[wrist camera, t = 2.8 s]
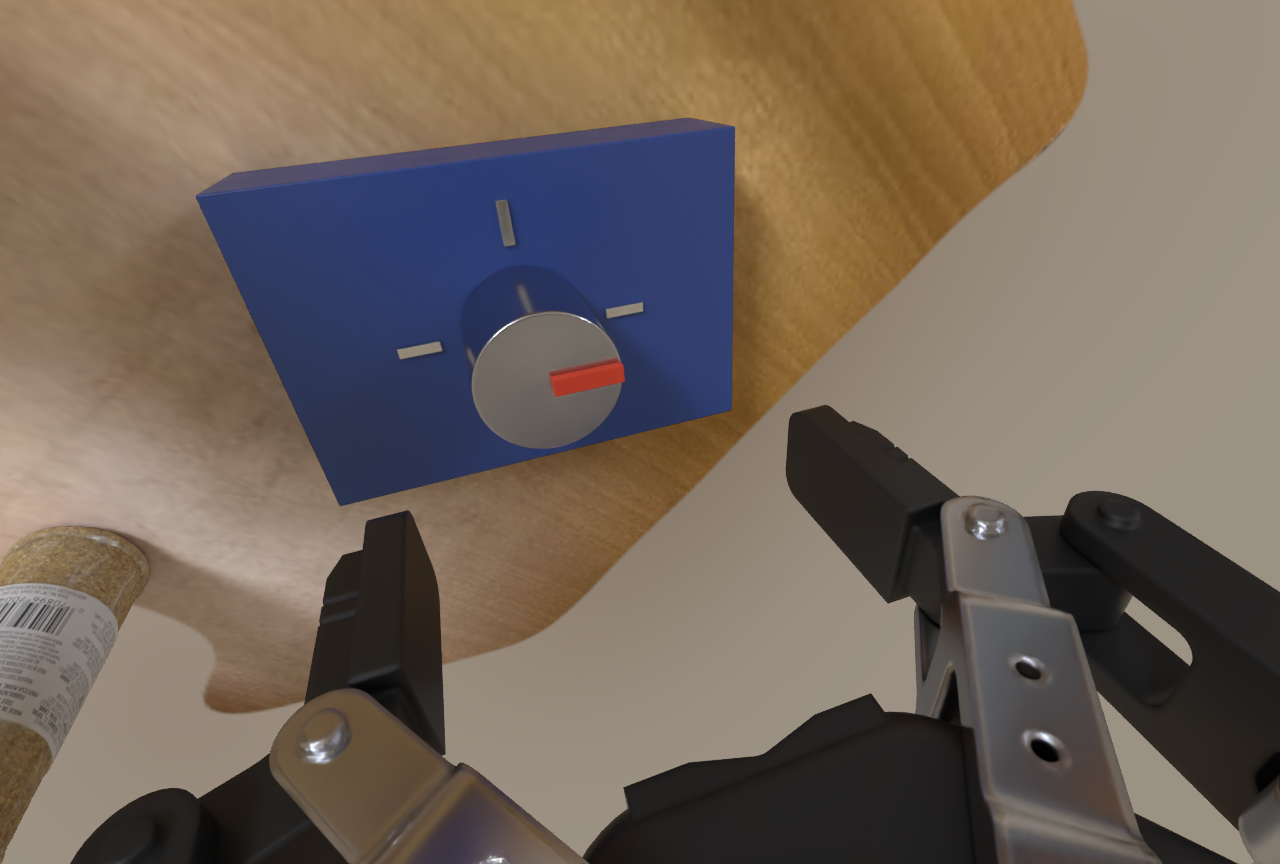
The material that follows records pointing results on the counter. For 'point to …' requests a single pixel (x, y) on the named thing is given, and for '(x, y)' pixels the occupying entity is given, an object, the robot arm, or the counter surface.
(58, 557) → the sprinkles bottle
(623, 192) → the blue knob base block
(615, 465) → the counter surface
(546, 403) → the silver pointer knob
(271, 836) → the robot arm
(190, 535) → the counter surface
